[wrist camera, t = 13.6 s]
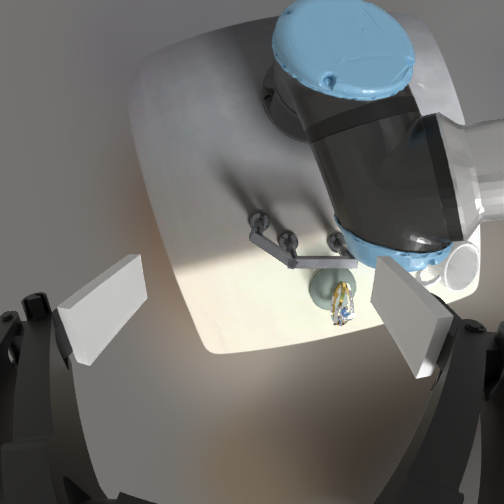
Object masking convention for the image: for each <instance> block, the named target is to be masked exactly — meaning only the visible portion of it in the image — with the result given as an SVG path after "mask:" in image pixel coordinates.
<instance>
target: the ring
mask: <svg viewBox="0 0 504 504" xmlns="http://www.w3.org/2000/svg"><path fill="white" fill-rule="evenodd" d="M340 290H341V294H340V301H339V304H338V306H337V308H336V309H335V303H336V299H337V298H338V296H339V292H340ZM345 290H346V293H347V298H348V307H349V312H347V311H346V310H348V307H347V306H345V307H343V306H342V303H343V299H344V295H345ZM339 309H341V310H340V312H339ZM338 312H339V316H338ZM353 317H354V305H353V296H352V291H351V287H350V285H349V283H347V282H344V281H340V282H339V283H338V284H337V286H336V288H335V290H334V291H333V293H332V298H331V301H330V307H329V321H330V323H331V324H332V325H335V326H336V325H339V326H342V325H344V324H346V323H347V322H348V321H349V320H352V319H353Z"/></svg>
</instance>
